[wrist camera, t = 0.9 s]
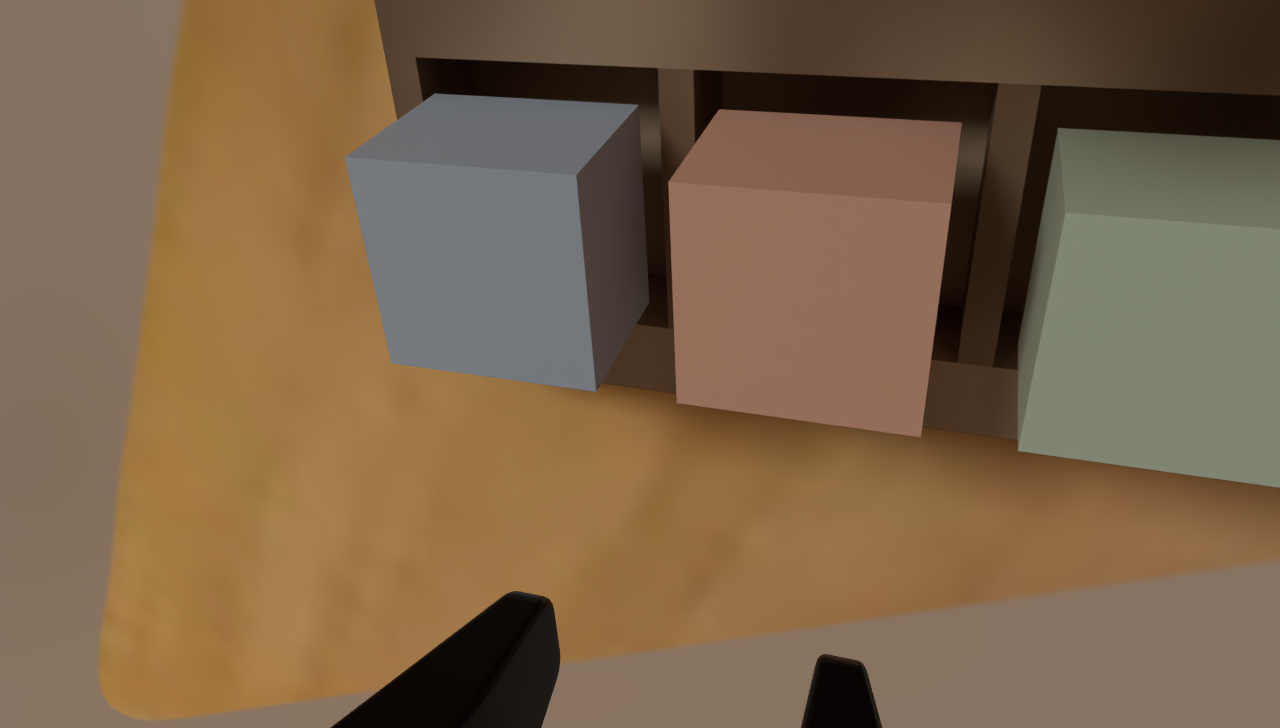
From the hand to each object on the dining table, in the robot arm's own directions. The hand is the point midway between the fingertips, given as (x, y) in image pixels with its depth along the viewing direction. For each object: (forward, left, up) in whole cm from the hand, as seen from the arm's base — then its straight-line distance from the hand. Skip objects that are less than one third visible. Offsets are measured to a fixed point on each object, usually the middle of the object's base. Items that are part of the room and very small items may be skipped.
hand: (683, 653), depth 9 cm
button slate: (+5, 0, -9) cm, 11 cm away
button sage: (-5, 0, -9) cm, 11 cm away
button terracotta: (0, 0, -9) cm, 9 cm away
